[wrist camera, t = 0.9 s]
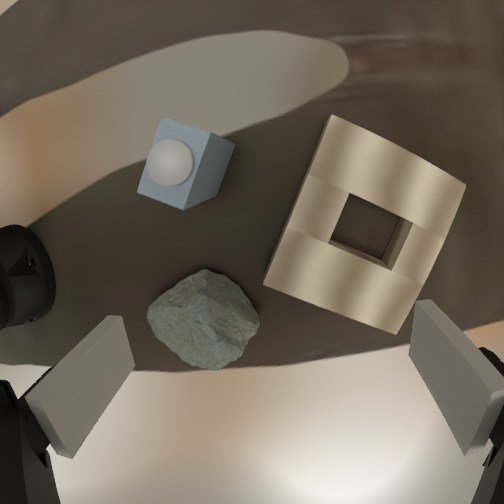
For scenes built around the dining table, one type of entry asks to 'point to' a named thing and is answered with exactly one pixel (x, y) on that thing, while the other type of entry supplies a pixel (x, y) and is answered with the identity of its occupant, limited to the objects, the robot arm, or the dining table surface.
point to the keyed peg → (184, 165)
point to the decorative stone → (204, 320)
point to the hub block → (347, 258)
